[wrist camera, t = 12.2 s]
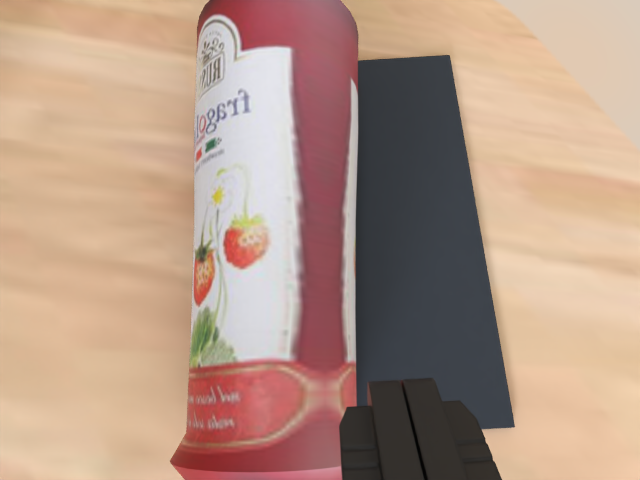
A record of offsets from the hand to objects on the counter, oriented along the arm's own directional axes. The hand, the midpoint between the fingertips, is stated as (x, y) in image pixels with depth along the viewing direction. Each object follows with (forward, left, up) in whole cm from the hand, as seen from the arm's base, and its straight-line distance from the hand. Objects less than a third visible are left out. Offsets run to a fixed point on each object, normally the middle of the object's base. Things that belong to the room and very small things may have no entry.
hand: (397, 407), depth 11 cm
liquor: (-4, +2, -6) cm, 8 cm away
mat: (+7, +5, -10) cm, 13 cm away
